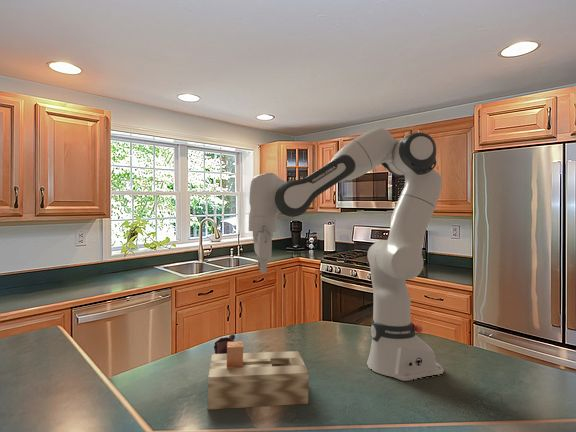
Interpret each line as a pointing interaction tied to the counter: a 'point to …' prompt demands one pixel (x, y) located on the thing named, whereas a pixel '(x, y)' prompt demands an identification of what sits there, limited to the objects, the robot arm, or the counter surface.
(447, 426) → the counter surface
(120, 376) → the counter surface
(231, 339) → the icecream
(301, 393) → the keyhole plate
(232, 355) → the wooden block
